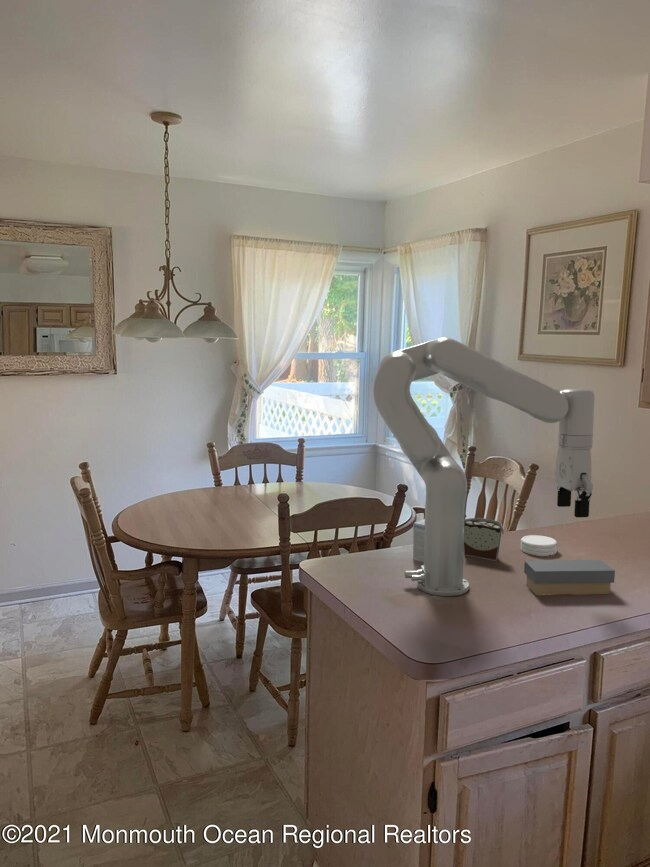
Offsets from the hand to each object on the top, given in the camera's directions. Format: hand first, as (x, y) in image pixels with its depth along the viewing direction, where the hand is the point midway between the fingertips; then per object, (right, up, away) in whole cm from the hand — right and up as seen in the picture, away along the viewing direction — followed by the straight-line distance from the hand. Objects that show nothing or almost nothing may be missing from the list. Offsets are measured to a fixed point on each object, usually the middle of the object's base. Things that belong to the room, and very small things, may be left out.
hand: (572, 511), depth 152 cm
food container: (-14, -16, +28) cm, 35 cm away
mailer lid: (0, -16, +2) cm, 17 cm away
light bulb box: (-29, -16, +26) cm, 43 cm away
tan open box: (0, -20, +3) cm, 20 cm away
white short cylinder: (+3, -16, +32) cm, 35 cm away
